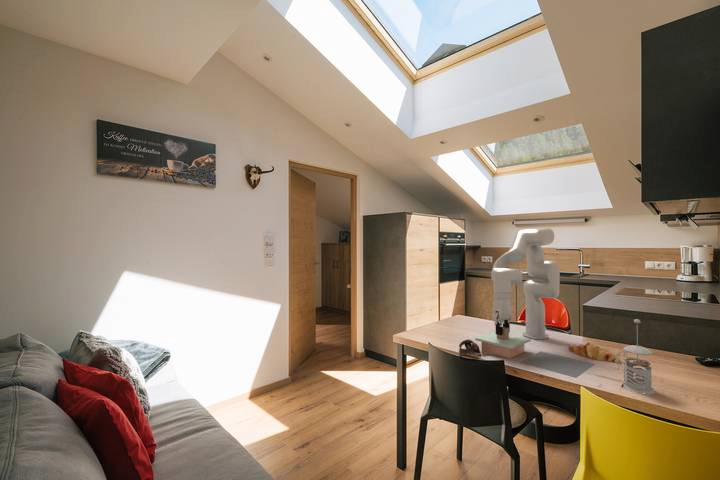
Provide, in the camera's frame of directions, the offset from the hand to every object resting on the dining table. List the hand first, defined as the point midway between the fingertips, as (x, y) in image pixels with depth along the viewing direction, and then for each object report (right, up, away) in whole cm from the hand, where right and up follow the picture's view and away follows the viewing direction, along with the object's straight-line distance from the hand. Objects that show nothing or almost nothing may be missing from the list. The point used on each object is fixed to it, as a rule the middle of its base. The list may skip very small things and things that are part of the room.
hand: (502, 333), depth 163 cm
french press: (+32, -9, -38) cm, 51 cm away
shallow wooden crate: (0, -10, 0) cm, 10 cm away
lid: (0, -4, 0) cm, 4 cm away
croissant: (+37, -10, -8) cm, 40 cm away
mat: (+16, -9, -16) cm, 25 cm away
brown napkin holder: (-16, -10, -2) cm, 19 cm away
